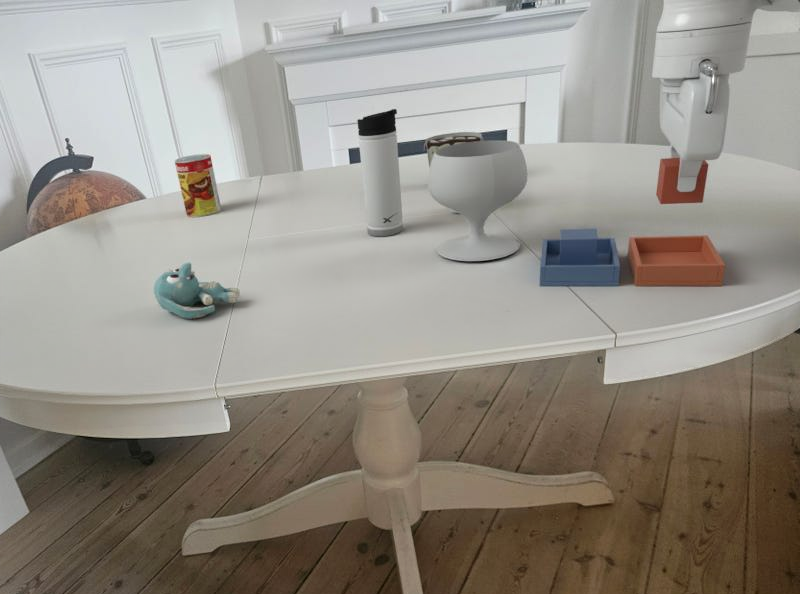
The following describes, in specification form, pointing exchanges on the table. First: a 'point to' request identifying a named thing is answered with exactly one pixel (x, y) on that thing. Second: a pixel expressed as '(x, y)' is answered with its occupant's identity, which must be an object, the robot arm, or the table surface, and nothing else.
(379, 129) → the travel mug
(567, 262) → the slate block
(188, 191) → the canned food
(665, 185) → the rust block
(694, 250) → the rust tray
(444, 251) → the chalice
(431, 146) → the food container
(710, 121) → the robot arm
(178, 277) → the stuffed animal
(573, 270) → the slate tray
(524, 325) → the table surface
